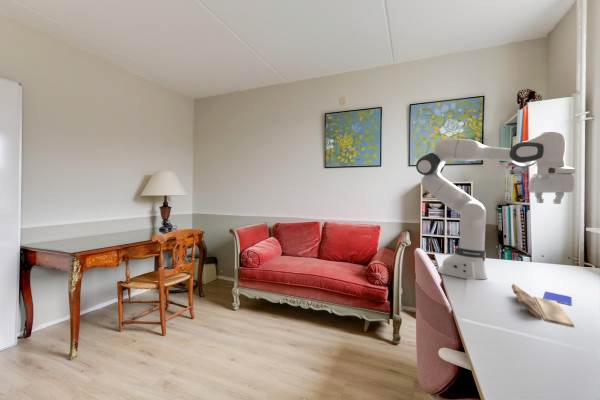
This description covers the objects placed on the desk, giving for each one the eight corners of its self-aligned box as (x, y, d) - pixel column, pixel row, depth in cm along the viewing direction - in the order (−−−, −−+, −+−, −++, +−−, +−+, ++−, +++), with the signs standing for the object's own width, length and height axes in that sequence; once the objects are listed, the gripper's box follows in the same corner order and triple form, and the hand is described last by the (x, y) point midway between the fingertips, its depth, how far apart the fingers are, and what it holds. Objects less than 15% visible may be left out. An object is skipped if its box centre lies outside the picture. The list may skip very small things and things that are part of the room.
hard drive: (571, 305, 100) (571, 296, 109) (542, 298, 106) (544, 291, 115) (571, 309, 100) (571, 300, 109) (542, 302, 106) (544, 294, 115)
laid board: (544, 322, 88) (544, 318, 88) (532, 299, 107) (532, 296, 107) (573, 328, 84) (574, 324, 84) (556, 304, 103) (556, 300, 103)
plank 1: (513, 292, 102) (516, 290, 102) (511, 286, 110) (513, 283, 110) (532, 307, 99) (535, 304, 98) (528, 298, 107) (531, 296, 106)
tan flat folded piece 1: (518, 302, 92) (522, 299, 91) (515, 293, 100) (518, 291, 99) (538, 319, 89) (542, 317, 89) (533, 309, 97) (537, 307, 96)
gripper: (525, 172, 123) (523, 202, 123) (560, 168, 102) (558, 204, 103) (540, 172, 121) (538, 202, 122) (579, 168, 101) (577, 204, 102)
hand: (548, 203), depth 112 cm, fingers open, 8 cm apart
